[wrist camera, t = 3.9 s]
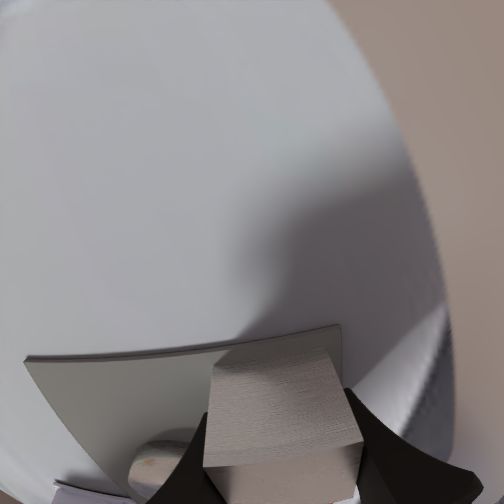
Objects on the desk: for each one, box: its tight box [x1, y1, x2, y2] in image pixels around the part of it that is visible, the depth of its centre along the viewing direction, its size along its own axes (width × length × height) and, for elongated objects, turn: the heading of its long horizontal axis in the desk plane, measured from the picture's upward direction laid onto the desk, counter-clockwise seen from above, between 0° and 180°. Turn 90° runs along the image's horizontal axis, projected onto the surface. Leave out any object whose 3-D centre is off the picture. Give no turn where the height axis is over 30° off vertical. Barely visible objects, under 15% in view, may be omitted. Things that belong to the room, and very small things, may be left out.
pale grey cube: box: [203, 346, 364, 504], centre depth 10 cm, size 5×5×5 cm
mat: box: [23, 324, 342, 504], centre depth 14 cm, size 16×16×1 cm
